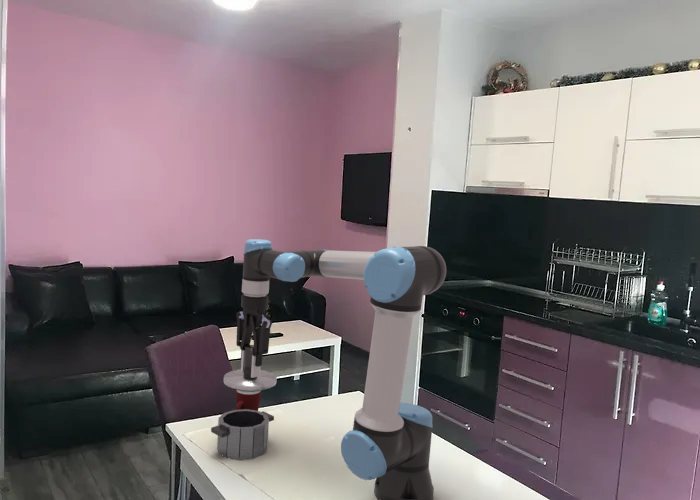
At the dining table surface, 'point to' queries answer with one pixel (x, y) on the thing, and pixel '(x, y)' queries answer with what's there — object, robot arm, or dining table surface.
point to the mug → (248, 400)
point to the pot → (242, 434)
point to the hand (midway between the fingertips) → (250, 374)
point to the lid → (249, 376)
